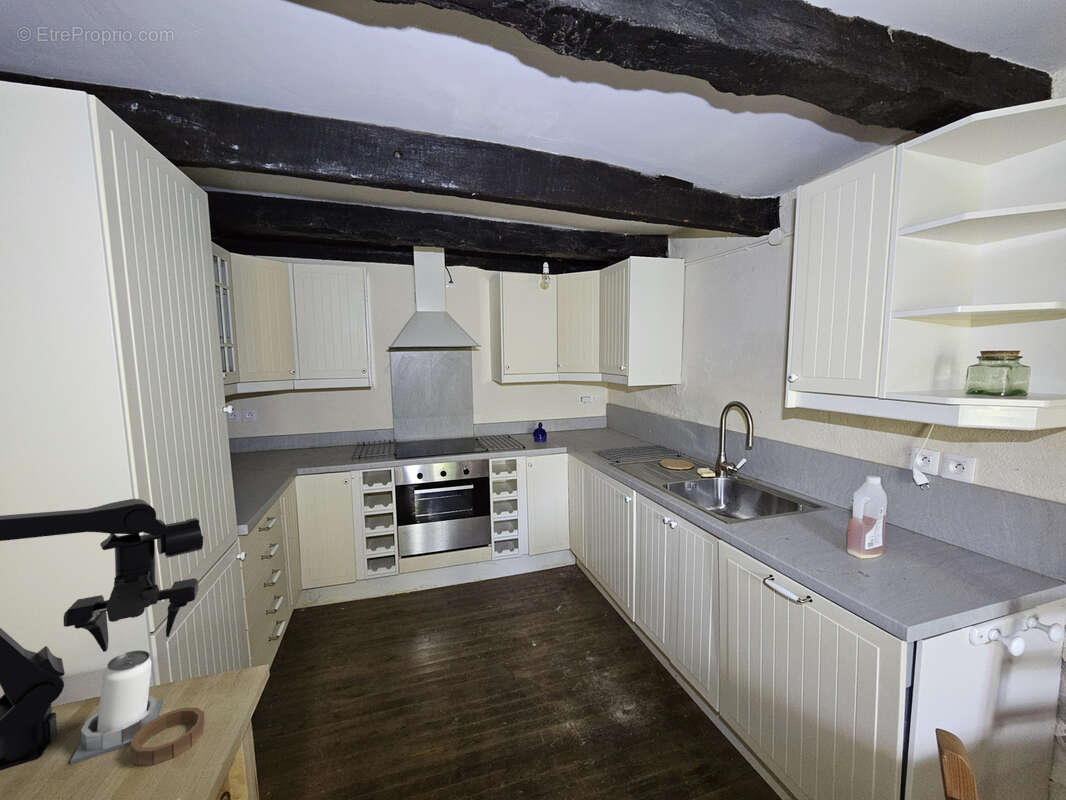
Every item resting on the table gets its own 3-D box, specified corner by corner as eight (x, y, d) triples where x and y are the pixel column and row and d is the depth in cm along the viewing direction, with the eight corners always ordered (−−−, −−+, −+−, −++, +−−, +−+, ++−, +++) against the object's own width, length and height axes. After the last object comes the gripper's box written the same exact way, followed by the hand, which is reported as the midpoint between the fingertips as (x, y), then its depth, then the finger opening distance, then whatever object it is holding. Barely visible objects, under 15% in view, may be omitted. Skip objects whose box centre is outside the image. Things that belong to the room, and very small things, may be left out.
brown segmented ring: (124, 775, 69) (123, 760, 69) (140, 733, 77) (140, 720, 77) (199, 749, 74) (199, 735, 74) (207, 712, 82) (206, 700, 82)
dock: (70, 764, 71) (70, 746, 71) (92, 723, 79) (92, 707, 79) (150, 738, 76) (149, 722, 76) (163, 702, 85) (162, 688, 84)
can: (91, 744, 73) (99, 675, 73) (102, 717, 79) (109, 653, 79) (142, 731, 77) (149, 665, 77) (148, 706, 82) (155, 645, 82)
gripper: (48, 593, 72) (51, 684, 73) (189, 569, 82) (191, 649, 82) (74, 569, 82) (77, 649, 82) (198, 550, 91) (199, 622, 92)
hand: (137, 643), depth 84 cm, fingers open, 9 cm apart
